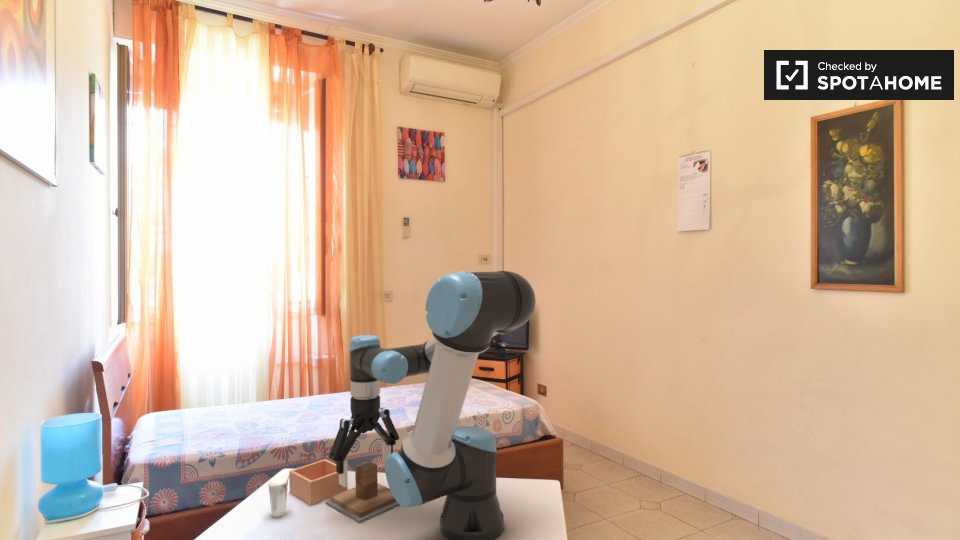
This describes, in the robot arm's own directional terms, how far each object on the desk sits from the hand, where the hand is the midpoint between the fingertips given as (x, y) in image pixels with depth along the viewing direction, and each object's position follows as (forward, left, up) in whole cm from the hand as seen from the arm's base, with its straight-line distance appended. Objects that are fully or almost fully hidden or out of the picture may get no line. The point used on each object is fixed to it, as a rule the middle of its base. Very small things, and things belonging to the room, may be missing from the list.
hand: (365, 476), depth 136 cm
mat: (0, 0, -7) cm, 7 cm away
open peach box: (+15, +5, -7) cm, 17 cm away
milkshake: (+11, +18, -7) cm, 22 cm away
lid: (0, 0, -6) cm, 6 cm away
